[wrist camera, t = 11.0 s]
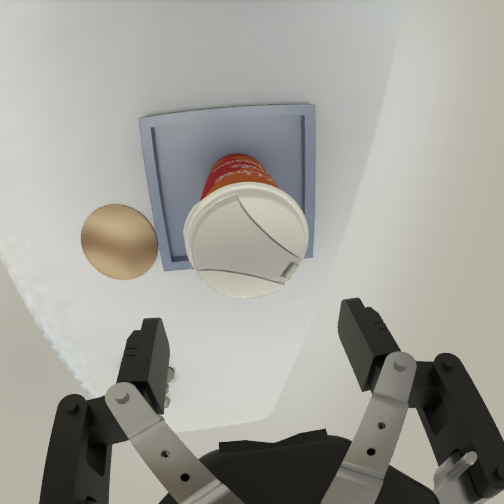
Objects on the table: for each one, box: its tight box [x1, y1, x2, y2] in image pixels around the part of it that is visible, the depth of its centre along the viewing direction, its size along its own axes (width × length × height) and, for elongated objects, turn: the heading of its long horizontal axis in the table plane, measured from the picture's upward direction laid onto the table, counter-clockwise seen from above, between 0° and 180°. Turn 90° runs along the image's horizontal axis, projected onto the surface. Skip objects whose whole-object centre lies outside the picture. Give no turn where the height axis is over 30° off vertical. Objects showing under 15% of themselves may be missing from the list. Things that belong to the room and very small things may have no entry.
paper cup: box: [183, 153, 309, 298], centre depth 25 cm, size 8×8×14 cm
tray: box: [139, 104, 315, 271], centre depth 31 cm, size 16×16×2 cm
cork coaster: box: [81, 205, 158, 280], centre depth 33 cm, size 9×9×1 cm
